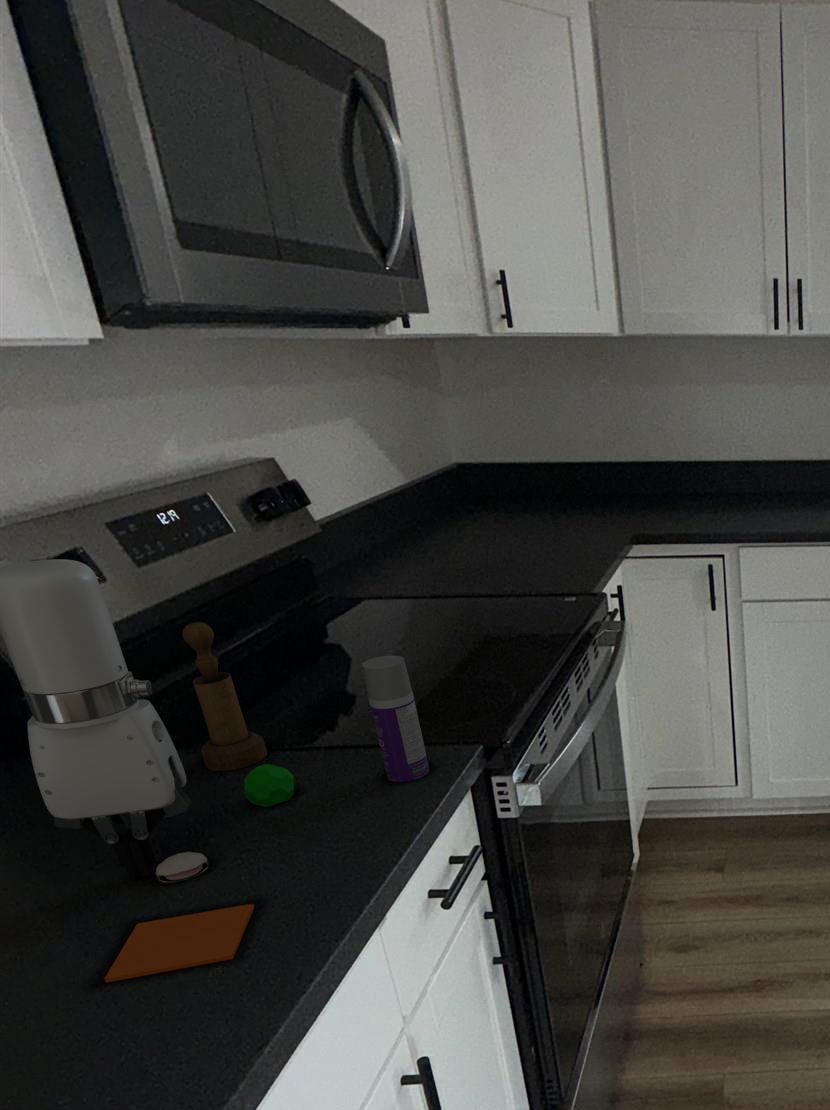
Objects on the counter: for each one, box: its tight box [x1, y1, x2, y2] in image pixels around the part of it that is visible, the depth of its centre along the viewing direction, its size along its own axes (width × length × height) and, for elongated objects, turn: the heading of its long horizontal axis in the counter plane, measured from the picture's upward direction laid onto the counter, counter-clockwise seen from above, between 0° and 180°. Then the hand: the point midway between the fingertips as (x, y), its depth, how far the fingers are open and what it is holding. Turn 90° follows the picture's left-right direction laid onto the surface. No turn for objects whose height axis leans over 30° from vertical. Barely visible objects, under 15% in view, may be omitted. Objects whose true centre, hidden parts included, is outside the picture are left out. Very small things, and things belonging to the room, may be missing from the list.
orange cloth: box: [104, 903, 255, 983], centre depth 82 cm, size 10×9×1 cm
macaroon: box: [154, 851, 209, 884], centre depth 92 cm, size 4×5×2 cm
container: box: [361, 655, 430, 783], centre depth 109 cm, size 5×5×15 cm
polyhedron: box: [244, 763, 295, 808], centre depth 105 cm, size 5×5×5 cm
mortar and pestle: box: [181, 621, 268, 772], centre depth 113 cm, size 7×6×18 cm
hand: (145, 869), depth 91 cm, fingers closed
